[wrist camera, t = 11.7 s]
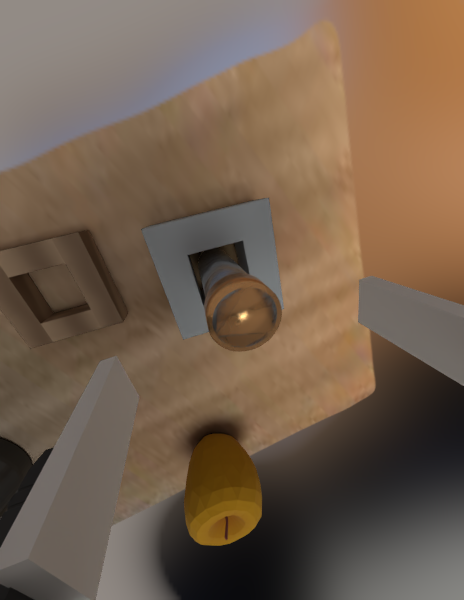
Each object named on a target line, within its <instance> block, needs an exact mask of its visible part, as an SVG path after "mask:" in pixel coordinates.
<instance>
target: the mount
mask: <svg viewBox="0 0 464 600" xmlns="http://www.w3.org/2000/svg"><path fill="white" fill-rule="evenodd" d="M61 264H66V266H67V268H68V269H69V271H70V273H71V275H72V276H73V278H74V280H75V282H76V284H77V285H78V287H79V289H80V291H81V292H82V294H83V296H84V298H85V300H86V301H87V303H88V304H86V305H83V306H79V307H75V308H72V309H68V310H64V311H61V312H57V313H53V312H52V310H51V309H50V307H49V306H48V304H47V303H46V301H45V300H44V298H43V296H42V295H41V293H40V292H39V290H38V289H37V287H36V286H35V284H34V283H33V281H32V280H31V278H30V276H29V275H28V273H29V272H33V271H37V270H41V269H45V268H49V267H53V266H57V265H61ZM0 310H1V311H2V312H3V314H4V315H5V316H6V318H7V319H8V320H9V321H10V323H11V324H12V325H13V327H14V328H15V329H16V331H17V332H18V333H19V335H20V336H21V337H22V339H23V340H24V341H25V342H26V344H27V345H28V346H29V348H30V349H31V348H35V347H38V346H42V345H45V344H49V343H52V342H56V341H59V340H62V339H66V338H69V337H73V336H76V335H80V334H83V333H87V332H90V331H94V330H97V329H101V328H104V327H108V326H111V325H115V324H118V323H121V322H123V321H124V320H125V318H126V316H127V314H128V311H127V309H126V307H125V305H124V303H123V301H122V298H121V296H120V294H119V292H118V290H117V288H116V286H115V284H114V282H113V280H112V278H111V276H110V274H109V272H108V269H107V267H106V265H105V263H104V261H103V259H102V257H101V255H100V253H99V251H98V249H97V247H96V245H95V242H94V240H93V238H92V236H91V234H90V232H89V230H87V231H81V232H77V233H72V234H68V235H64V236H60V237H56V238H52V239H48V240H43V241H39V242H35V243H31V244H27V245H23V246H18V247H14V248H10V249H6V250H2V251H0Z"/></svg>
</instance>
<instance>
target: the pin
mask: <svg viewBox="0 0 464 600" xmlns="http://www.w3.org/2000/svg"><path fill="white" fill-rule="evenodd" d="M198 269H199V273H200V277H201V281H202V285H203V289H204V293H205V297H206V299H205V303H204V311H205V316H206V321H207V326H208V330H209V333H210V335H211V337H212V338H213V339H214V341H215V342H216V343H217V344H219V345H220V346H221V347H223V348H225V349H228V350H232V351H248V350H252V349H255V348H257V347H259V346H261V345H263V344H264V343H266V342H267V341H268V340H269V339H270V338H271V337H272V336H273V335H274V334H275V332H276V330H277V329H278V327H279V324H280V321H281V315H282V310H281V304H280V301H279V299H278V297H277V296H276V294H275V293H274V292H273V291H272V290H271V289H270V288H269V287H267V286H266V285H265V284H264V283H263V282H262V281H261V280H260V279H258V278H257V277H255V276H253V275H250V274H247V273H246V272H245V271H244V270H243V269H242V268H241V267H240V266H239V265H238V264H237V263H236V262H235V261H234V260H233V259H232V258H231V257H230V256H229V255H228V254H227V253H226V252H225V251H223V250H222V249H219V248H213V249H209V250H205V251H203V252H202V253H201V255H200V256H199V259H198Z"/></svg>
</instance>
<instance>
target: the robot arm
mask: <svg viewBox="0 0 464 600" xmlns="http://www.w3.org/2000/svg"><path fill="white" fill-rule="evenodd" d="M358 322H359V323H361V324H362V325H364V326H366V327H367V328H369V329H370V330H372V331H374V332H375V333H377V334H379V335H380V336H382V337H384V338H386V339H387V340H389V341H390V342H392V343H394V344H395V345H397V346H399V347H400V348H402V349H404V350H405V351H407V352H409V353H410V354H412V355H413V356H415V357H417V358H418V359H420V360H422V361H424V362H425V363H427V364H428V365H430V366H432V367H433V368H435V369H437V370H438V371H440V372H442V373H443V374H445V375H447V376H448V377H450V378H452V379H453V380H455V381H457V382H458V383H460V384H461V385H463V386H464V306H463V305H461V304H457V303H454V302H451V301H448V300H445V299H442V298H439V297H436V296H433V295H430V294H426V293H423V292H420V291H417V290H414V289H411V288H408V287H405V286H402V285H399V284H395V283H392V282H389V281H386V280H383V279H380V278H377V277H374V276H370V277H366V278H363V279H360V280H359V314H358ZM138 401H139V395H138V393H137V391H136V390H135V388H134V386H133V384H132V382H131V381H130V379H129V377H128V375H127V373H126V372H125V370H124V368H123V366H122V365H121V363H120V361H119V359H118V357H117V356H115V357H111V358H108V359H105V360H102V361H100V362H99V364H98V366H97V368H96V370H95V372H94V373H93V375H92V377H91V379H90V381H89V383H88V385H87V387H86V388H85V390H84V392H83V394H82V396H81V398H80V400H79V402H78V403H77V405H76V407H75V409H74V411H73V413H72V415H71V416H70V418H69V420H68V422H67V424H66V426H65V428H64V430H63V431H62V433H61V435H60V437H59V439H58V441H57V443H56V445H55V446H54V448H51V449H48V450H45V451H44V453H43V454H42V455H41V456H40V457H39V458H38V460H37V461H36V462H35V463H34V464H33V465H32V463H31V460H30V459H29V457H28V456H27V454H26V453H25V452H24V451H23V450H21V449H20V448H19V447H17V446H16V445H14V444H12V443H10V442H8V441H6V440H3V439H1V438H0V600H96V596H97V591H98V586H99V582H100V577H101V572H102V567H103V563H104V558H105V553H106V549H107V545H108V540H109V535H110V531H111V526H112V521H113V517H114V512H115V507H116V503H117V498H118V494H119V489H120V484H121V480H122V475H123V470H124V466H125V461H126V456H127V452H128V447H129V443H130V438H131V433H132V429H133V424H134V419H135V415H136V410H137V405H138Z"/></svg>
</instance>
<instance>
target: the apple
mask: <svg viewBox="0 0 464 600" xmlns="http://www.w3.org/2000/svg"><path fill="white" fill-rule="evenodd" d="M184 506H185V507H184V509H185V518H186V525H187V527H188V531H189V533H190V535H191V537H192V538H193V539H194V540H195V541H196V542H198V543H199V544H201V545H224V544H229V543H232V542H234V541H236V540H238V539H240V538H241V537H243V536H245V535H247V534H248V533H249V532H250V531H252V530H253V529H254V528H255V526H256V524H257V523H258V521H259V519H260V517H261V516H262V494H261V486H260V481H259V478H258V474H257V470H256V468H255V466H254V464H253V462H252V460H251V458H250V457H249V455H248V454H247V452H246V451H245V450H244V449H243V447H242V446H241V445H240V444H239V443H238V442H237V441H236V440H235V439H234V438H233V437H232V436H229V435H226V434H216V433H214V434H209V435H207V436H205V437H204V438H203V439H202V440H201V441H200V442H199V443H198V444H197V446H196V447H195V448H194V451H193V453H192V456H191V460H190V463H189V469H188V474H187V481H186V490H185V499H184Z"/></svg>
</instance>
